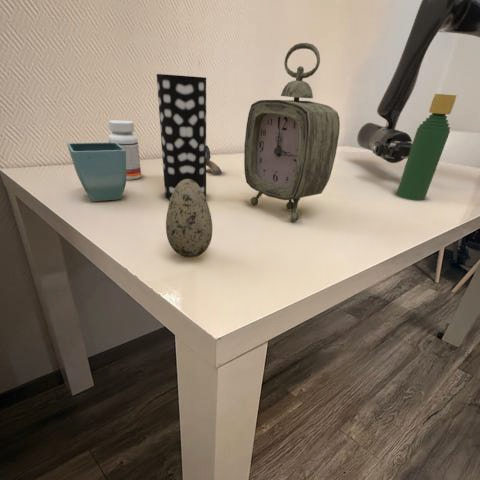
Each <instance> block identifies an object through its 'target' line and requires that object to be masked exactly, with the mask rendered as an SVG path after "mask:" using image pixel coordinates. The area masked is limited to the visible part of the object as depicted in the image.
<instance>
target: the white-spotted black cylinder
mask: <svg viewBox="0 0 480 480" xmlns="http://www.w3.org/2000/svg"><path fill="white" fill-rule="evenodd" d="M156 86H157V101H158V115H159V127H160V128H159V129H160V141H161V143H160V144H161V157H162V171H163V172H162V173H163V185H164V197H165V199H166V200H169V201H170V199H171V196H172V194H173V191H174V189H175V188H176V186H177V185H178V183H179V182H181V181H182V180H184V179H191V180H193V181H195V182H196V183H197V184H198V185H199V187H200V188H201V190H202V191H203V193H204V195H205V198H206V199H207V166H206V145H207V77H204V76H192V75H191V76H190V75H180V74H179V75H177V74H165V73H156Z"/></svg>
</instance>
